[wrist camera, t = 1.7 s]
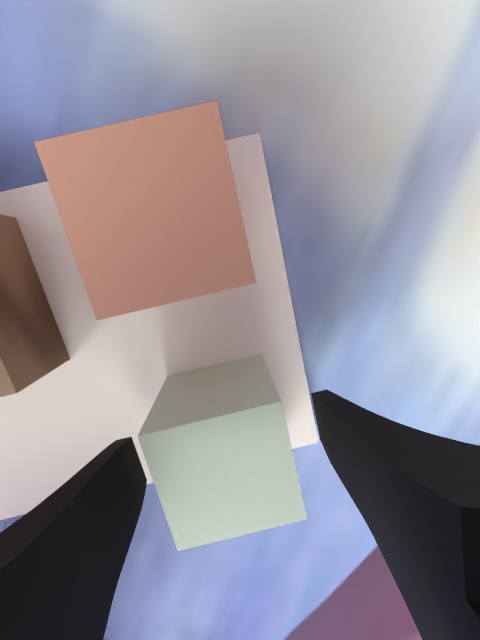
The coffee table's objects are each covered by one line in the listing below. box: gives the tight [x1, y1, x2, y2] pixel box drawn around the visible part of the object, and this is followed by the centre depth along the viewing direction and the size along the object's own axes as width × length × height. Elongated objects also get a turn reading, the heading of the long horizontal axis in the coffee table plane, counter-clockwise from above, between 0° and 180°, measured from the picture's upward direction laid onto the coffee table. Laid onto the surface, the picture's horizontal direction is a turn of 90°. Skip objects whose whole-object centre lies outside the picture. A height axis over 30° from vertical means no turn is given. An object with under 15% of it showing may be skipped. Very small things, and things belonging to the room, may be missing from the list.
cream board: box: [0, 132, 318, 520], centre depth 12 cm, size 14×18×1 cm
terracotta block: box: [34, 100, 256, 320], centre depth 9 cm, size 4×4×4 cm
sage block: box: [137, 354, 307, 551], centre depth 11 cm, size 4×4×4 cm
